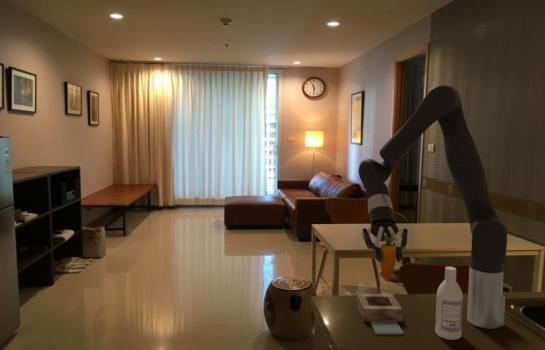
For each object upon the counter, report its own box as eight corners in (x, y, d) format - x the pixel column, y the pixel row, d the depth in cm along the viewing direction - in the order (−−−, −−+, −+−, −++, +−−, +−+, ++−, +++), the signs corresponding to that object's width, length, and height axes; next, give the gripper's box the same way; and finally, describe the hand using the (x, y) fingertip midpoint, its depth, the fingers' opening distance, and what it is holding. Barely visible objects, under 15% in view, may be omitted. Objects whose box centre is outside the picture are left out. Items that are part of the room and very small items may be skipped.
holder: (391, 305, 139) (392, 293, 138) (402, 321, 127) (402, 309, 126) (356, 304, 139) (356, 293, 139) (363, 321, 127) (363, 308, 127)
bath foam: (466, 339, 116) (469, 271, 114) (445, 342, 114) (448, 273, 112) (450, 327, 123) (453, 263, 121) (430, 330, 121) (432, 265, 119)
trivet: (396, 322, 126) (396, 320, 126) (403, 335, 118) (403, 333, 118) (370, 322, 127) (370, 320, 127) (375, 334, 119) (375, 332, 119)
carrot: (392, 278, 124) (394, 230, 122) (398, 284, 119) (399, 234, 117) (376, 278, 124) (377, 230, 122) (381, 285, 119) (382, 234, 117)
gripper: (359, 205, 126) (366, 254, 116) (406, 205, 126) (417, 254, 115) (356, 218, 132) (362, 266, 122) (401, 218, 132) (411, 266, 121)
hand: (389, 260), depth 119 cm, fingers closed on carrot, 5 cm apart
